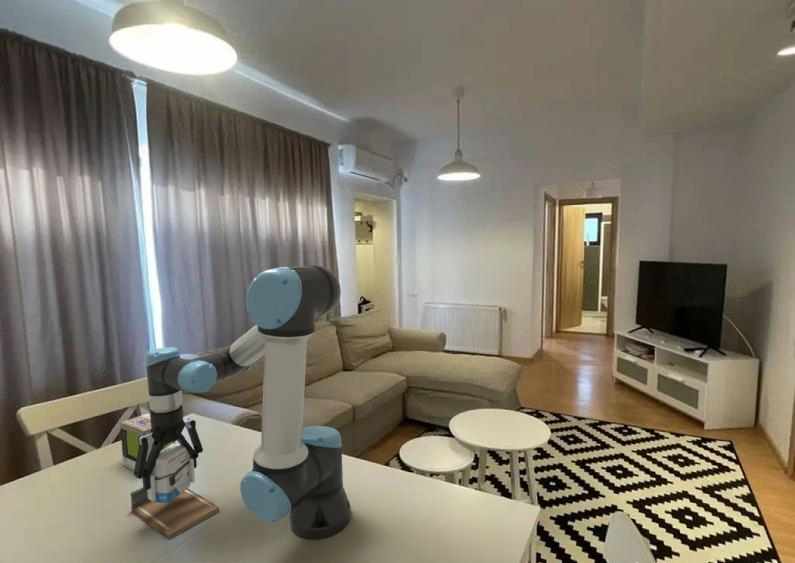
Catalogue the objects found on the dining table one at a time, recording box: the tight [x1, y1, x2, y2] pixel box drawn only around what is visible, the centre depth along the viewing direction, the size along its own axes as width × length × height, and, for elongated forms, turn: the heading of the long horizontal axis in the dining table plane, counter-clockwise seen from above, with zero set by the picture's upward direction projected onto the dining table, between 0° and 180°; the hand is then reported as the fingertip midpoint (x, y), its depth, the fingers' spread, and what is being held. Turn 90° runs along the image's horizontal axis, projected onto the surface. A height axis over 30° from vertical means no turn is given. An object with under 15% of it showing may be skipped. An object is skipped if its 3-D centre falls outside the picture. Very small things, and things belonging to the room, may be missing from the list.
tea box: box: [120, 412, 177, 471], centre depth 135 cm, size 15×10×15 cm, turn 58°
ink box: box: [152, 443, 191, 503], centre depth 110 cm, size 8×5×12 cm, turn 169°
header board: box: [130, 486, 220, 540], centre depth 110 cm, size 20×13×9 cm, turn 55°
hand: (172, 489), depth 110 cm, fingers closed on ink box, 9 cm apart
